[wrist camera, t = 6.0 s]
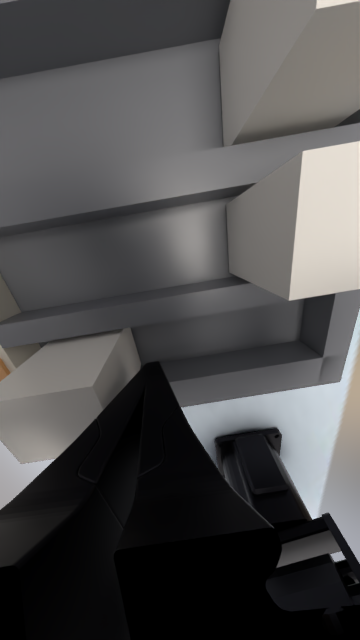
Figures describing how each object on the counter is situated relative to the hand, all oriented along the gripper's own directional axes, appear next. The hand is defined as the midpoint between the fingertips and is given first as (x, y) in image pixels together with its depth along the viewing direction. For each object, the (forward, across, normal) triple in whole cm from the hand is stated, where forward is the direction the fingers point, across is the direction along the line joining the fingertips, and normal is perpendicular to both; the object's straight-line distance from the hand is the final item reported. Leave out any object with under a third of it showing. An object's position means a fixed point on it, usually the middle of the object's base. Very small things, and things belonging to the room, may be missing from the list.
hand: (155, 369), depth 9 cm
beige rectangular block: (+3, -7, -5) cm, 9 cm away
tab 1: (+3, +4, 0) cm, 5 cm away
